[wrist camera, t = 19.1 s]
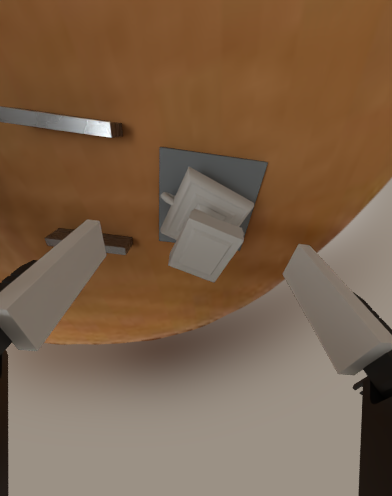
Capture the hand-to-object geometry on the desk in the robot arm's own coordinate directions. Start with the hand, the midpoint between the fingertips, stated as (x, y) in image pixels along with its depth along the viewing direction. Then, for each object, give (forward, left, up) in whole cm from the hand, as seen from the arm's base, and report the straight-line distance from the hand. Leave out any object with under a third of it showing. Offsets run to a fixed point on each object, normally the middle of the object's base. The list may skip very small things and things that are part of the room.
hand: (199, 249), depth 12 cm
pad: (0, 0, -9) cm, 9 cm away
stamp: (0, 0, -8) cm, 8 cm away
